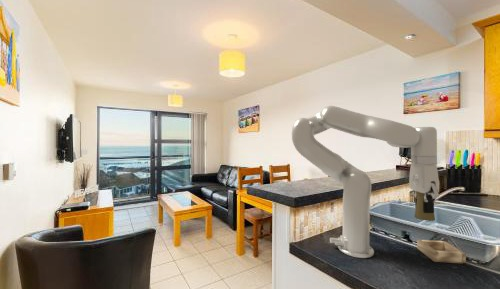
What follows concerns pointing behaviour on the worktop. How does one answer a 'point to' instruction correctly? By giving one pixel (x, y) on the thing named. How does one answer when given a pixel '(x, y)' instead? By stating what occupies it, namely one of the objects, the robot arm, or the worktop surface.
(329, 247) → the worktop surface
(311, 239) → the worktop surface
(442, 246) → the socket block
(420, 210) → the cork
